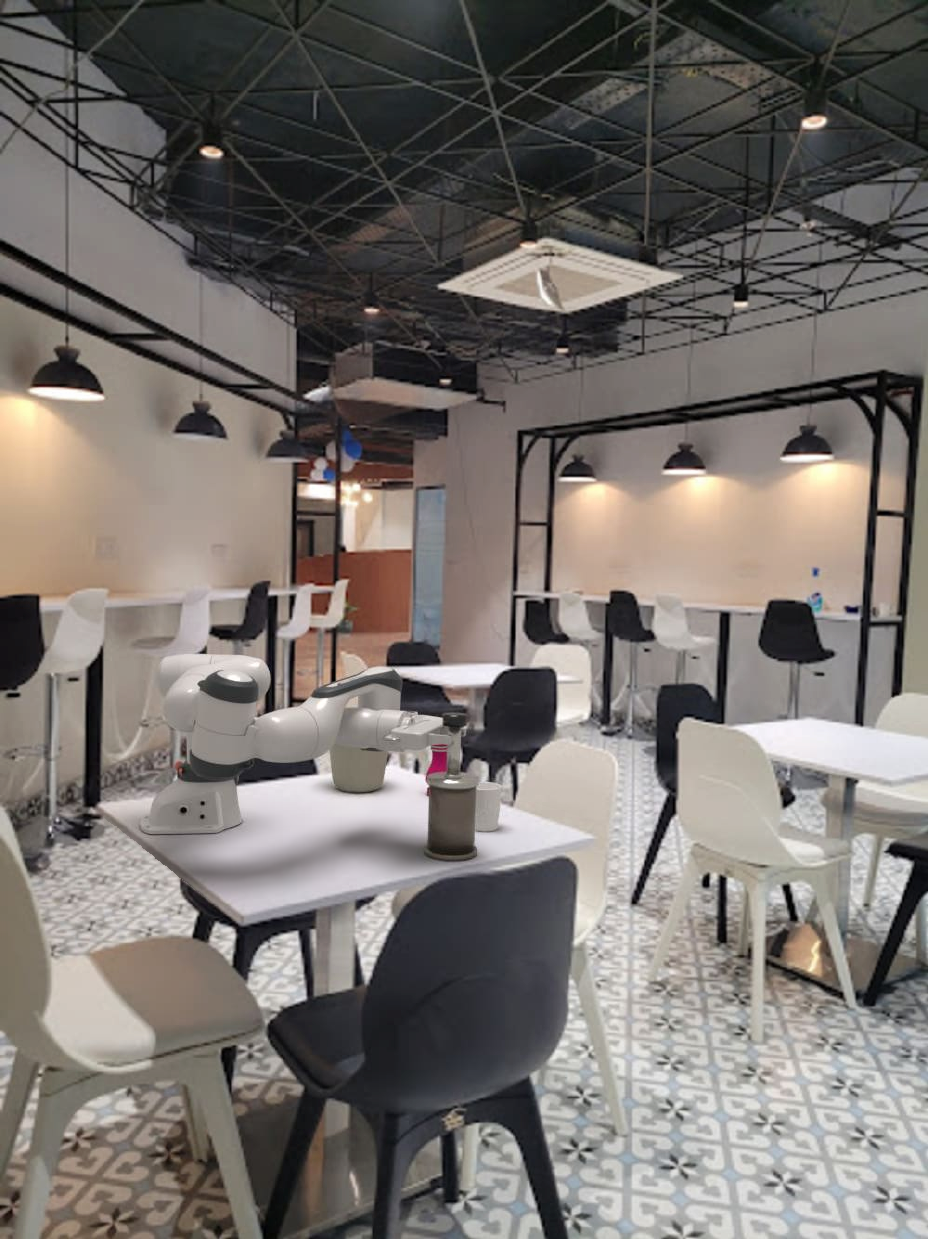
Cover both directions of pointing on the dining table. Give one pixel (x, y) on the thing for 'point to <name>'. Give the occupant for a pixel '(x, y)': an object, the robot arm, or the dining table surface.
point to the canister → (357, 768)
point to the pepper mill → (437, 760)
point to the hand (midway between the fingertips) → (458, 736)
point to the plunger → (454, 740)
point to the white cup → (487, 806)
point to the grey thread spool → (451, 816)
